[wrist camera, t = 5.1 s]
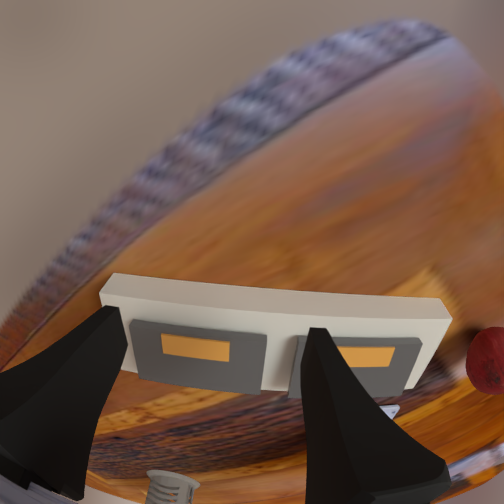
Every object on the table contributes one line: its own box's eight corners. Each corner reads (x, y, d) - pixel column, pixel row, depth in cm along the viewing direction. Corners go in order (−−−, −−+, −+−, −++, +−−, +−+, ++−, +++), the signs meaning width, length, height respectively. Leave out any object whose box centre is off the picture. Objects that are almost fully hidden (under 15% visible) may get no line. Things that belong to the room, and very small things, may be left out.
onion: (443, 347, 24) (474, 414, 17) (484, 301, 21) (528, 364, 14) (472, 360, 25) (500, 418, 18) (508, 319, 22) (546, 375, 15)
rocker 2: (398, 389, 21) (401, 396, 20) (287, 390, 21) (288, 399, 20) (418, 337, 19) (423, 344, 19) (298, 335, 20) (299, 343, 19)
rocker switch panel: (392, 390, 27) (398, 410, 24) (137, 373, 27) (129, 393, 25) (439, 298, 21) (452, 318, 19) (113, 272, 22) (98, 292, 19)
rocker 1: (260, 386, 21) (260, 396, 21) (142, 371, 22) (138, 379, 21) (267, 334, 20) (267, 344, 19) (132, 318, 20) (127, 326, 19)
